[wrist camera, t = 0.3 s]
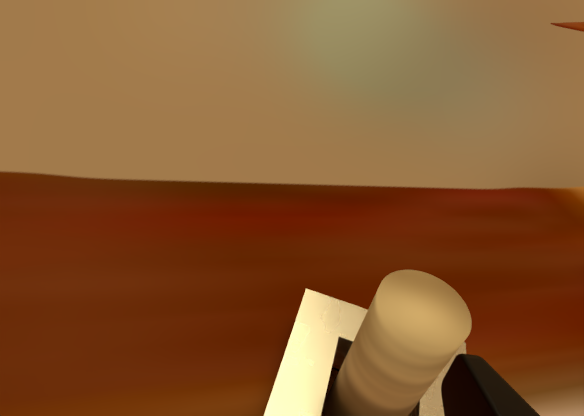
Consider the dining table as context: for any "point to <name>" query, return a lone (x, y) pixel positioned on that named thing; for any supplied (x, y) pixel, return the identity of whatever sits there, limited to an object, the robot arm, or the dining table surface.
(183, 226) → the dining table surface
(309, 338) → the collar
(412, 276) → the post
